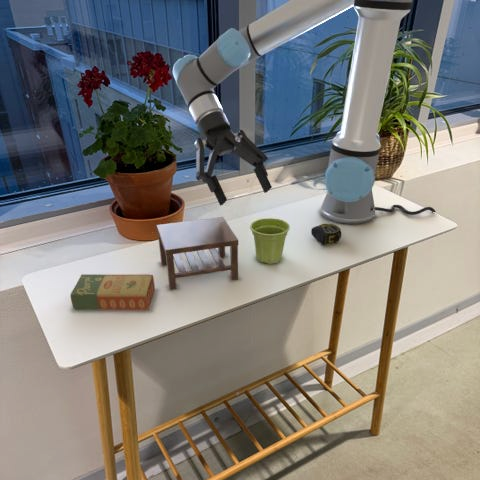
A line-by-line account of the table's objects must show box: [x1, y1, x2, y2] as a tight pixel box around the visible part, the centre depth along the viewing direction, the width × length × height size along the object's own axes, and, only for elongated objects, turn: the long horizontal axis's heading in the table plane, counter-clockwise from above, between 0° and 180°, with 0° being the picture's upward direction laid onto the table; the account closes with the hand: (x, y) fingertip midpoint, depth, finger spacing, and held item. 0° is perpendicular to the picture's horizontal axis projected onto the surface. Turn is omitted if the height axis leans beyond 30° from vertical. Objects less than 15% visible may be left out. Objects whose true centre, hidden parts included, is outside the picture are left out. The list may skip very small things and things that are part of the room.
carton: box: [70, 273, 156, 311], centre depth 104 cm, size 8×16×4 cm, turn 89°
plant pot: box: [249, 217, 291, 265], centre depth 117 cm, size 9×9×9 cm
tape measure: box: [310, 223, 342, 246], centre depth 126 cm, size 7×7×4 cm
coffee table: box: [156, 216, 239, 291], centre depth 112 cm, size 16×13×10 cm
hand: (246, 196), depth 118 cm, fingers open, 13 cm apart
